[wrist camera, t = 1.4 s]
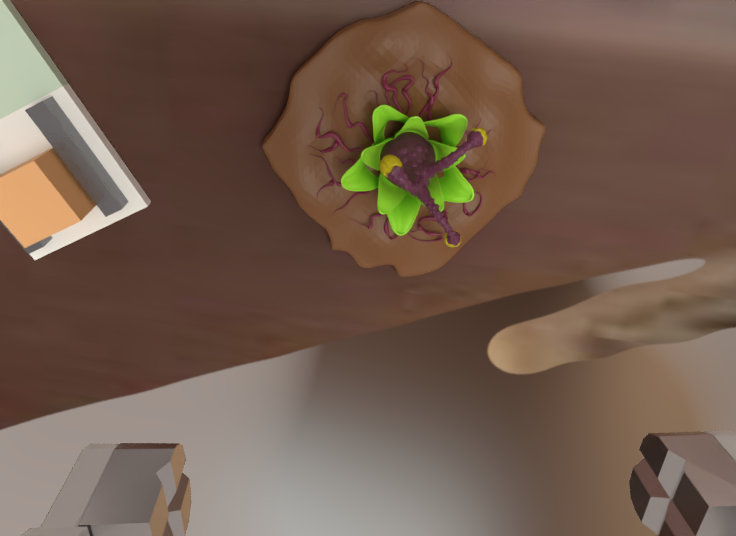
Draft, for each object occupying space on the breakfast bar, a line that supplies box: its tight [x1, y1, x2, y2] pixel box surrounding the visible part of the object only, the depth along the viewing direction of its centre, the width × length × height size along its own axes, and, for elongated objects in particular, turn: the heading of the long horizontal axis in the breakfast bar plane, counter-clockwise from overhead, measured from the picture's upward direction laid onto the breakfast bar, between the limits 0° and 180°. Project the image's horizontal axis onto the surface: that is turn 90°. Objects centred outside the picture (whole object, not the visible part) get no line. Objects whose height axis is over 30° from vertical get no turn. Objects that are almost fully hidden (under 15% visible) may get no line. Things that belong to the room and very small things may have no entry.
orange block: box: [0, 147, 96, 248], centre depth 41 cm, size 5×5×4 cm
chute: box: [0, 0, 151, 260], centre depth 41 cm, size 17×11×3 cm, turn 24°
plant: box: [262, 1, 546, 277], centre depth 40 cm, size 20×20×11 cm
